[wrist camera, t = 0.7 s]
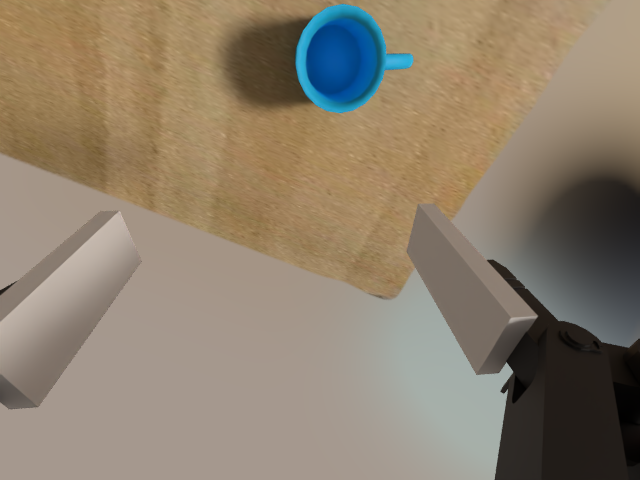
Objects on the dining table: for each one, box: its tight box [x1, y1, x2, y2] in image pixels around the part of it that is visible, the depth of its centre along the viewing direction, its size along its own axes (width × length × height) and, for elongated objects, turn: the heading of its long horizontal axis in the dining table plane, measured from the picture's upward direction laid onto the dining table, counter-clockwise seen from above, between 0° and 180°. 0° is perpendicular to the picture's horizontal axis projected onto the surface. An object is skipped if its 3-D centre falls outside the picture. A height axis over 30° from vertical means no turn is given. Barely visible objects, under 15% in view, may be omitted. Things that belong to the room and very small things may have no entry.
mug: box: [295, 4, 413, 113], centre depth 28 cm, size 12×8×8 cm
